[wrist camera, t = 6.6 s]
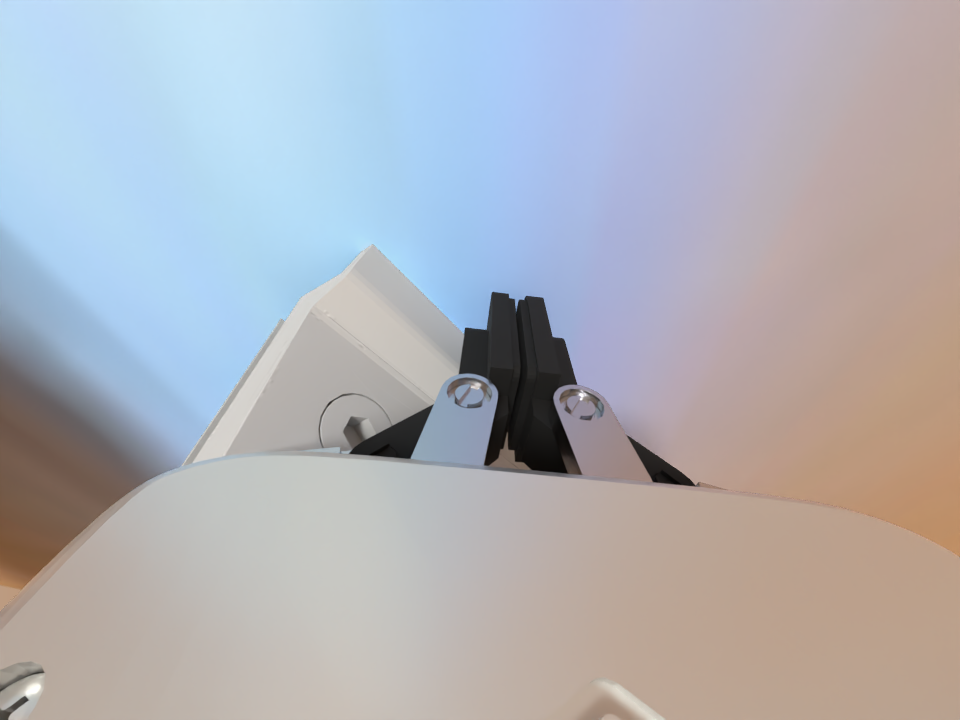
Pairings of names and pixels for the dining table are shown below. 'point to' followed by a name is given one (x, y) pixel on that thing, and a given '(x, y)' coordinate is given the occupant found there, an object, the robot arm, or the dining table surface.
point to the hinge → (341, 368)
